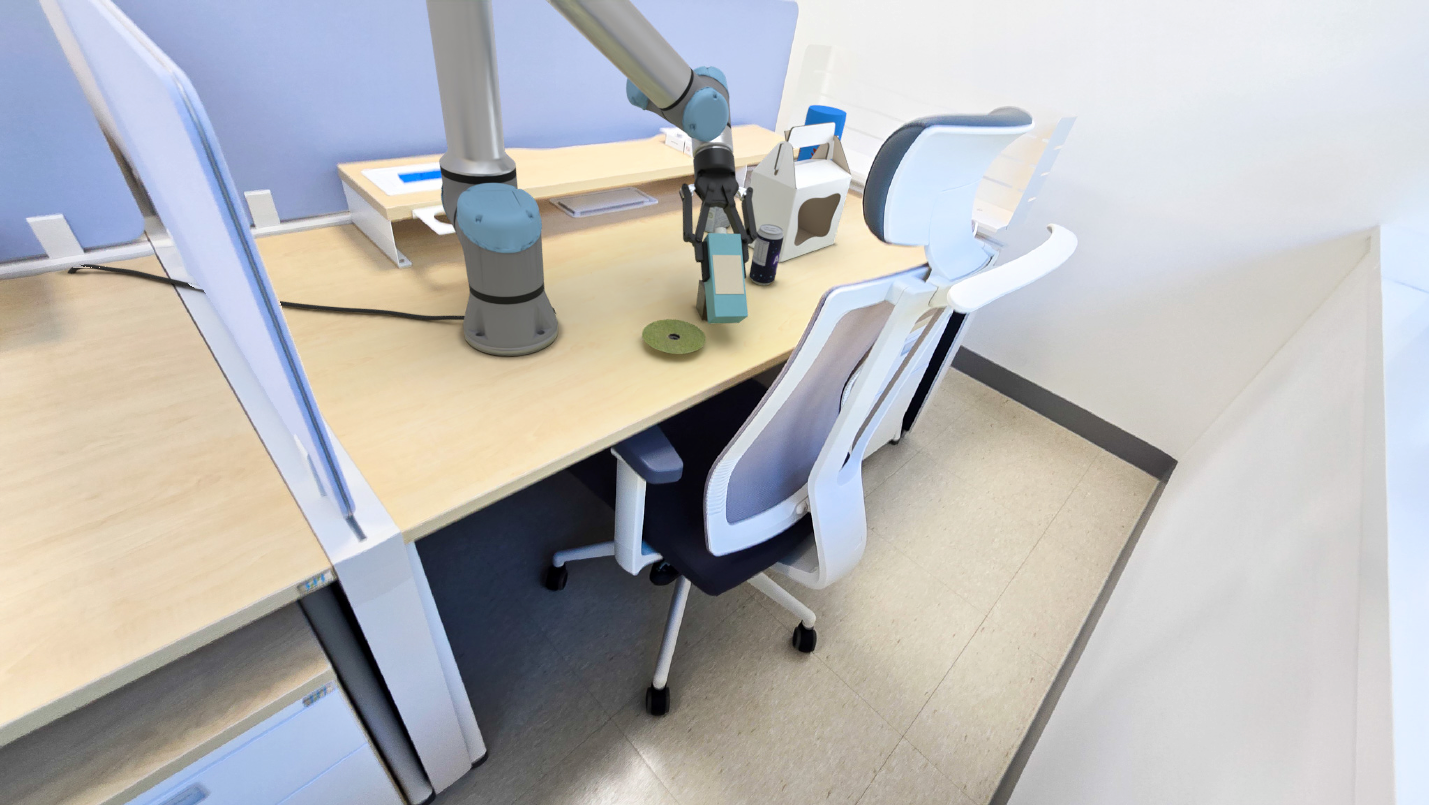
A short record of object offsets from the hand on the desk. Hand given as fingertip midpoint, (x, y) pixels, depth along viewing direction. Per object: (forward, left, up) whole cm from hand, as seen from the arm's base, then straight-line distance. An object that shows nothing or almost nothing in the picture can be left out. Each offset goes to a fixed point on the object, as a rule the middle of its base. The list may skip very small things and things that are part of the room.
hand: (724, 279), depth 103 cm
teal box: (0, 0, -7) cm, 7 cm away
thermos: (+47, +69, -10) cm, 85 cm away
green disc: (-10, -5, -10) cm, 15 cm away
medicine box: (+12, +47, -10) cm, 50 cm away
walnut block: (0, +5, -10) cm, 11 cm away
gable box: (+29, +38, -10) cm, 49 cm away
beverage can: (+15, +18, -10) cm, 26 cm away
